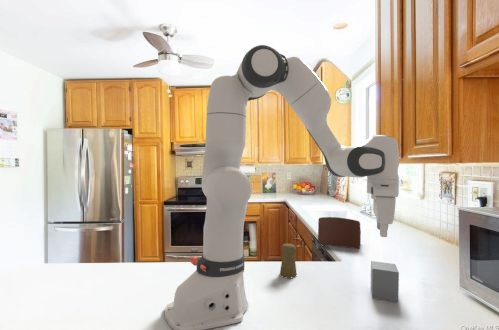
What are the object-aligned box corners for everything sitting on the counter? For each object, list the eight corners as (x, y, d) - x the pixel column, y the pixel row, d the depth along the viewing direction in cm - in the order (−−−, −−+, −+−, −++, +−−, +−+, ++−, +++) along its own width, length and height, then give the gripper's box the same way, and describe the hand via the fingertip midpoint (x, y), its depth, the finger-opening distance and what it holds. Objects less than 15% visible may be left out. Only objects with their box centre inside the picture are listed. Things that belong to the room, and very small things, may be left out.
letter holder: (359, 249, 129) (360, 219, 129) (317, 243, 137) (318, 216, 137) (360, 243, 138) (361, 216, 138) (321, 238, 146) (321, 212, 146)
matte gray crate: (372, 297, 81) (372, 268, 81) (370, 287, 88) (370, 260, 88) (398, 302, 79) (398, 272, 79) (394, 291, 85) (395, 264, 85)
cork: (296, 279, 94) (297, 247, 94) (279, 277, 95) (279, 246, 95) (297, 272, 100) (297, 242, 100) (280, 270, 101) (281, 241, 101)
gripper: (369, 185, 94) (368, 224, 94) (373, 190, 75) (373, 240, 75) (389, 186, 92) (388, 226, 92) (399, 191, 73) (398, 242, 73)
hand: (381, 232), depth 84 cm, fingers open, 8 cm apart
